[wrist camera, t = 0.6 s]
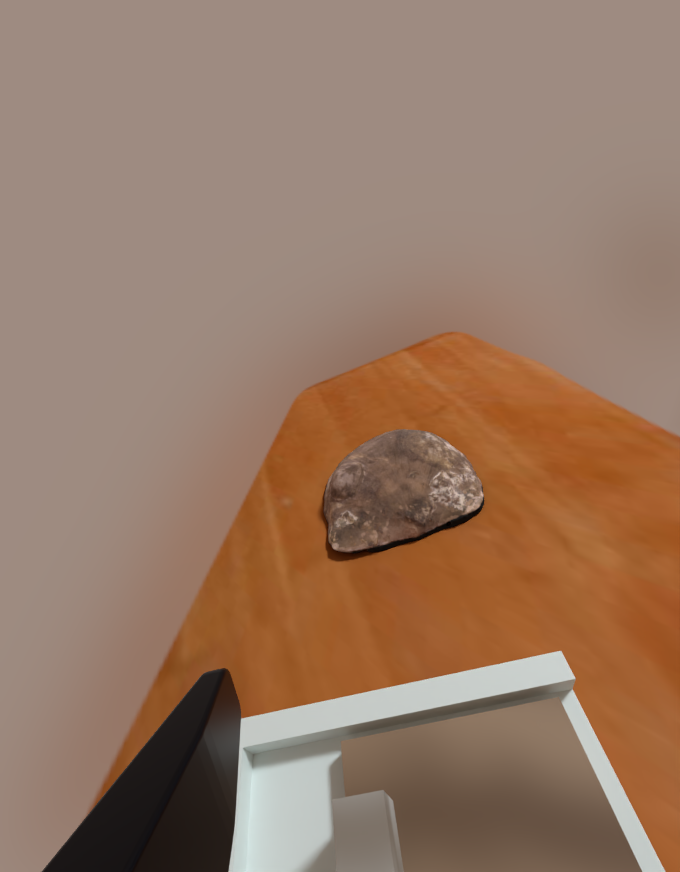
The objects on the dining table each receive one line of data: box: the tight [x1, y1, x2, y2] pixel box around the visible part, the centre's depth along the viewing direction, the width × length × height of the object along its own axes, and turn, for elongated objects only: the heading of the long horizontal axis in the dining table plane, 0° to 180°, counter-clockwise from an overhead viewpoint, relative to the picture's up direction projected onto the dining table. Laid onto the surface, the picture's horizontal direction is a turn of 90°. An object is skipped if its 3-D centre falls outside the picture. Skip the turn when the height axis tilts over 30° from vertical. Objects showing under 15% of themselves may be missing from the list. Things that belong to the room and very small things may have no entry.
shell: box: [324, 429, 484, 553], centre depth 32 cm, size 12×13×4 cm
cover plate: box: [332, 697, 642, 872], centre depth 14 cm, size 8×10×3 cm
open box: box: [229, 651, 665, 872], centre depth 16 cm, size 11×17×3 cm, turn 96°
